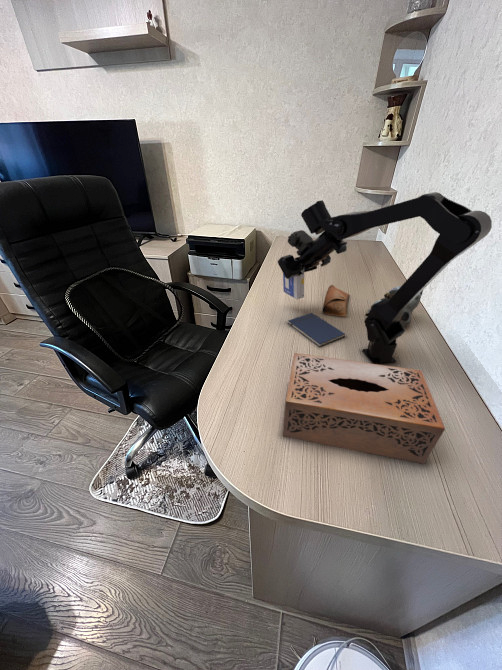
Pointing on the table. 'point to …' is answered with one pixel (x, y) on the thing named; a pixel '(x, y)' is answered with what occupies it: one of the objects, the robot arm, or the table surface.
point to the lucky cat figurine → (408, 311)
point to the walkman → (294, 286)
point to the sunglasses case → (335, 302)
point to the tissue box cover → (362, 407)
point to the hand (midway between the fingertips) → (289, 274)
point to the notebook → (316, 329)
